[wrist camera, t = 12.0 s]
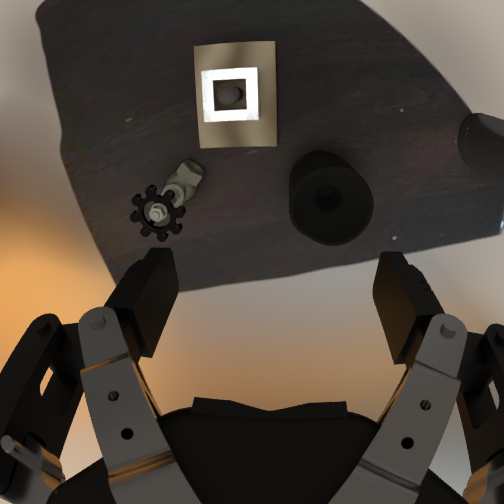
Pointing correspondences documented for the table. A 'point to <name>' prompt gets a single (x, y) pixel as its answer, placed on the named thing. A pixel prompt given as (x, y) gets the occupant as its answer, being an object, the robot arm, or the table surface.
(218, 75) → the block
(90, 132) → the table surface
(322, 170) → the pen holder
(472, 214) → the table surface
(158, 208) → the valve
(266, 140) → the shaft stand
